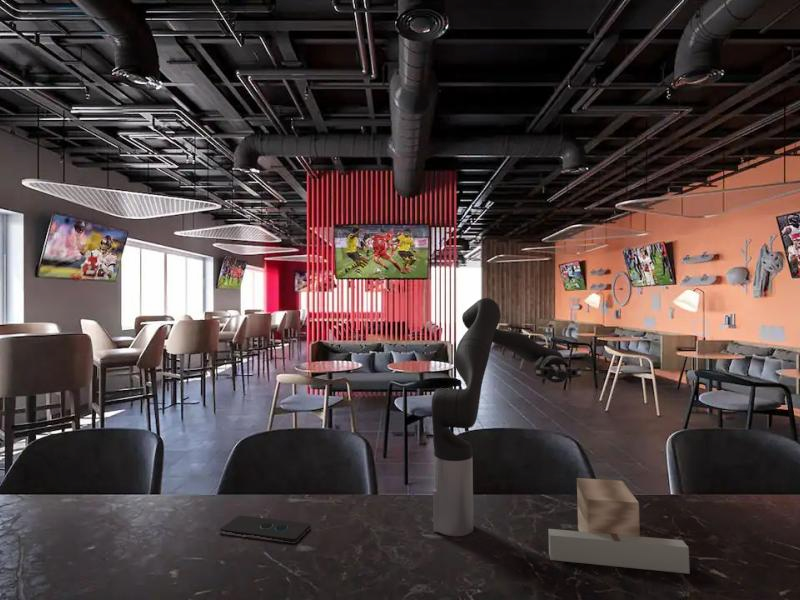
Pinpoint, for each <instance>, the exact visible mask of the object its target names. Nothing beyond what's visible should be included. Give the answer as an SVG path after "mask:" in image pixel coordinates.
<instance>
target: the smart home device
mask: <svg viewBox="0 0 800 600" xmlns="http://www.w3.org/2000/svg"><path fill="white" fill-rule="evenodd" d="M309 528H310V529H311V524H310V523H309V522H308V523H307V522H301V521H300V522H299V521H294V520H293V521H292V520H284V519H283V520H282V519H274V518H273V519H272V518H266V517H258V516H250V515H237V516H236V517H235V518H233V519H232V520H231V521H229V522H228V523H226V524H224V525H223V526H222V527H220V529H219V531H220V530H221V531H225V532H232V533H235V534H241V535H244V534H245V535H254V536H260V537H266V538H272V539H278V540H283V541H289V542H296V541H297V540H298V539H299V538H300V537H301V536H302V535H303V534H304V533H305V532H306V531H307V530H308V529H309Z"/></svg>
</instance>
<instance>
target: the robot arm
mask: <svg viewBox="0 0 800 600" xmlns="http://www.w3.org/2000/svg"><path fill="white" fill-rule="evenodd" d="M501 314H502V313H501V310H500V306H499V305H498V303H497V302H496V301H495V300H494V299H492V298H490V297H483V298H480V299H478V300H477V301H476V302H474V303H473V304H472V305H471V306H470V307H469V308H467V309H466V310H465V311H464V312H463V313H462V319H461V320H462V322H463V325H464V327H465V328H466V329H467V331H466V332H465V333H464V334H463V336H462V338H461V339H460V340H459V342H458V345H457V347H456V351H455V352H454V357H453V364H454V367H455V369H456V371H457V373H458V375H459V376H460V377H461V379H462V381H463V382H464V385H465V386H466V387H465V388H442V387H441V388H437V389H435V390H434V392H433V395H432V397H431V398H432V399H431V421H432V422H431V423H432V424H431V425H432V440H433V442H432V445H433V456H434V457H433V458H434V459H433V461H434V462H433V463H434V464H433V465H434V467H433V468H434V469H433V470H434V473H433V474H434V478H433V479H434V488H433V490H432V496H433V497H432V499H433V500H432V505H433V506H432V507H433V508H432V510H433V517H432V519H433V521H432V522H433V532H436V533H440V534H442V535H444V536H448V537H449V536H450V537H464V536H468V535H470V534H471V533H472V532H473V531H474V520H475V519H474V482H473V478H474V474H473V472H474V471H473V468H474V467H473V446H472V444H471V443H470V442H469V441H468V440H465V439H464V438H461V437H459V436H458V435H457V434H455V433H454V432H453V431H452V430H451V428H455V429H456V428H457V429H470V428H473V426H475V423H476V422H477V418H478V414H479V413H478V412H479V409H480V408H479V407H480V401H481V393H482V386H483V385H482V384H483V381H484V377H485V373H486V369H487V366H488V362H489V358H490V354H491V353H490V352H491V348H492V343H493V344H495V345H498V346H501V347H503V348H505V349H507V350H509V351H510V352H512V353H514V354H515V355H516V356H518V357H520V358H521V359H522V360H524V361H525V362H527V363H529V364H530V363H533V371H534V372H535V376H536V377H540V378H542V379H544V380H548V381H549V382H552V383H554V384H560V383H562V382H564V381H566V380H567V379H574V378H580V377H582V368H581V367H570V366H569V364H568V362H567V361H566V360H565V359H564V356H563V354H562V353H561V352H559V351H558V350H557V349H553V348H550V347H547V346H544V345H541V344H539V343H537V342H536V341H535V340H533V339H532V338H531V337H529V336H528V335H526V334H523V333H520V332H516V331H510V330H509V331H508V330H503V329H499V328H498V326H499V323H500V321H501V317H502V316H501Z"/></svg>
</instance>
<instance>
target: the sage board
mask: <svg viewBox="0 0 800 600" xmlns="http://www.w3.org/2000/svg"><path fill="white" fill-rule="evenodd" d="M547 531H548V533H547V534H548V554H549V559H550V560H551V561H557V562H568V563H578V564H579V563H580V564H589V565H590V564H591V565H598V566H608V567H619V568H626V569H627V568H628V569H629V568H630V569H639V570H649V571H657V572H659V571H660V572H669V573H680V574H691V573H690V572H691V571H690V569H691V568H690V549H689V548H690V547H689V546H688V545H687V544H686V542H685V541H684V540H683V539H672V538H661V537H659V538H658V537H649V536H648V537H647V536H640V537H639V536H627V535H617V534H613V533H610V534H604V533H592V532H580V531H579V530H566V529H555V528H554V529H553V528H548V530H547Z"/></svg>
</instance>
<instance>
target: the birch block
mask: <svg viewBox="0 0 800 600" xmlns="http://www.w3.org/2000/svg"><path fill="white" fill-rule="evenodd" d="M576 492H577V494H576V495H577V497H576V499H577V501H576V502H577V503H576V505H577V529H578V530H577V531H580V532H592V533H604V534H610V533H613V534H617V535H627V536H639V537H641V534H640V533H641V531H640V528H641V527H640V503H639V500H637V499H636V497H635V496H634V495H633V493H632V492H631V491H630V489H629V488H628V487H627V486H626V484H625V483H624V481H622V480H618V479H617V480H615V479H598V478H586V477H585V478H584V477H583V478H581V477H577V478H576Z"/></svg>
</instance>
